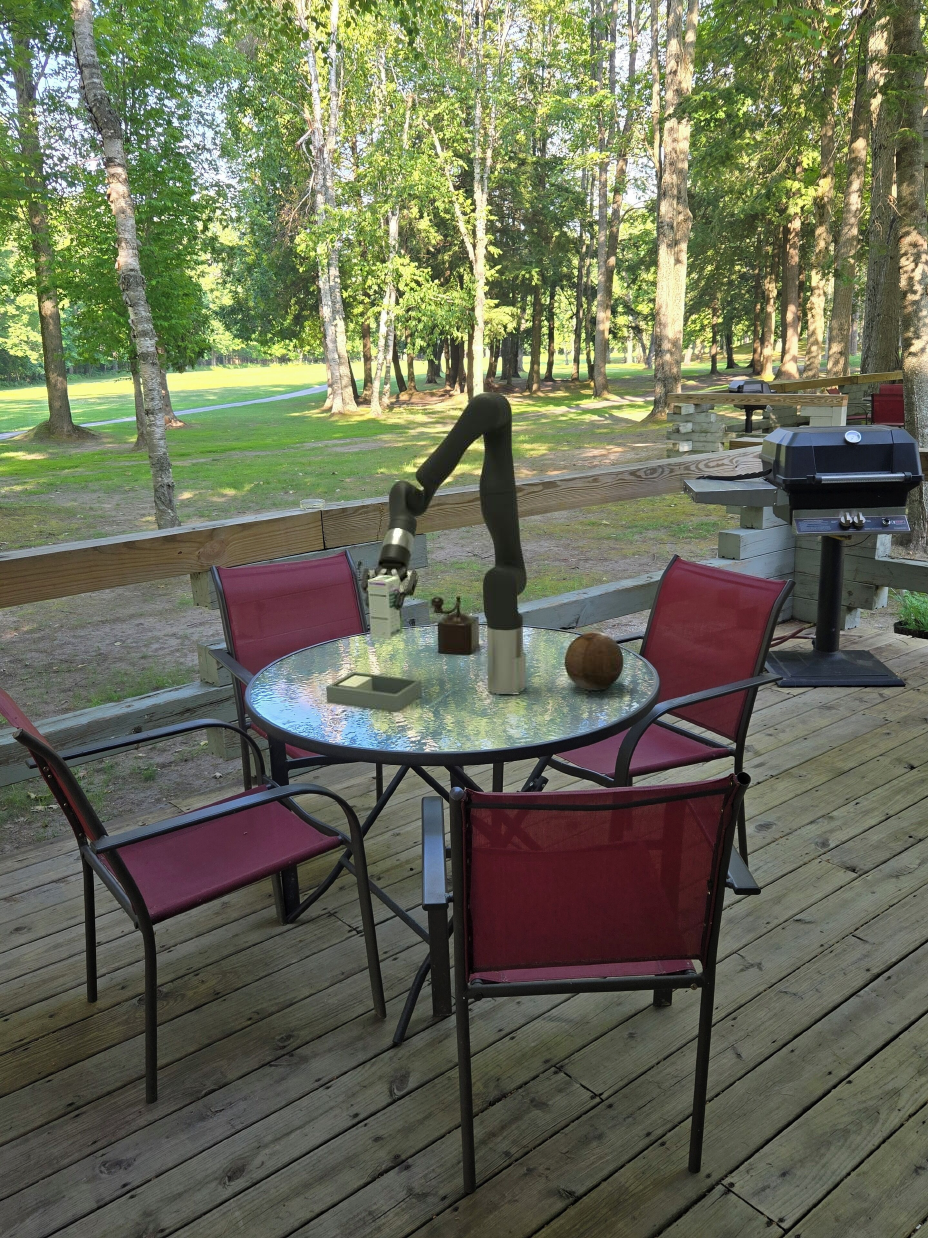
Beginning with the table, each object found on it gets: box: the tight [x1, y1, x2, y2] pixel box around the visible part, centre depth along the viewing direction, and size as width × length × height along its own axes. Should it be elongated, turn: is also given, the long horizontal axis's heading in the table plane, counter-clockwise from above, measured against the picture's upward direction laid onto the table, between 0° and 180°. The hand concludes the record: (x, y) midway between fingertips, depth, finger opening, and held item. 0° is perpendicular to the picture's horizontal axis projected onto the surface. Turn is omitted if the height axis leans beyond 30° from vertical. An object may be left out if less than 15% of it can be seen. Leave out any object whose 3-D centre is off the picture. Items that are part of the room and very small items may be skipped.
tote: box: [325, 671, 423, 713], centre depth 227 cm, size 20×13×5 cm, turn 65°
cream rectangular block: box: [338, 675, 372, 691], centre depth 229 cm, size 5×8×4 cm, turn 155°
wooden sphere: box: [564, 631, 624, 691], centre depth 233 cm, size 15×15×15 cm
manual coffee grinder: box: [430, 595, 480, 656], centre depth 268 cm, size 16×11×18 cm
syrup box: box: [368, 575, 403, 640], centre depth 220 cm, size 6×6×14 cm
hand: (382, 607), depth 218 cm, fingers closed on syrup box, 6 cm apart
